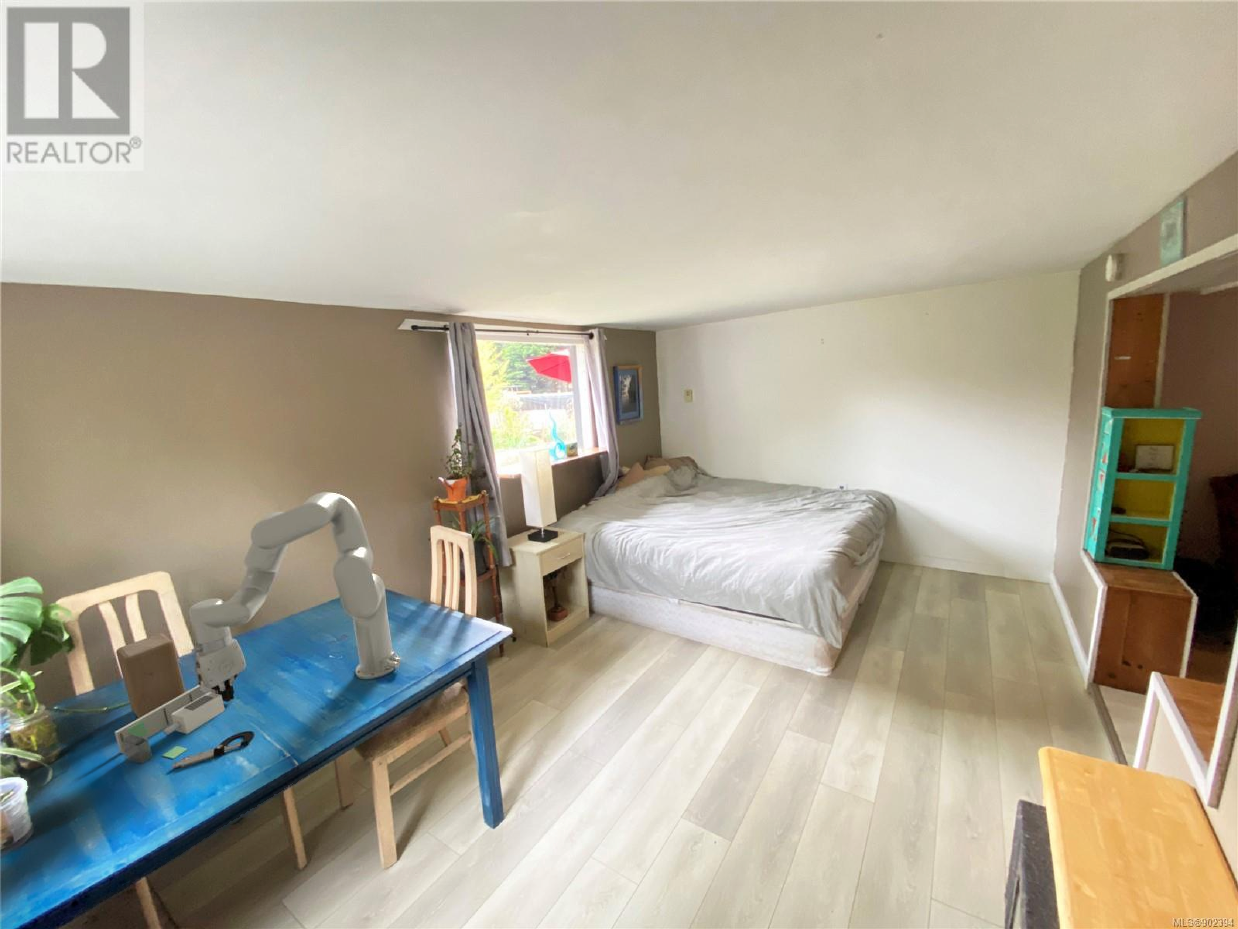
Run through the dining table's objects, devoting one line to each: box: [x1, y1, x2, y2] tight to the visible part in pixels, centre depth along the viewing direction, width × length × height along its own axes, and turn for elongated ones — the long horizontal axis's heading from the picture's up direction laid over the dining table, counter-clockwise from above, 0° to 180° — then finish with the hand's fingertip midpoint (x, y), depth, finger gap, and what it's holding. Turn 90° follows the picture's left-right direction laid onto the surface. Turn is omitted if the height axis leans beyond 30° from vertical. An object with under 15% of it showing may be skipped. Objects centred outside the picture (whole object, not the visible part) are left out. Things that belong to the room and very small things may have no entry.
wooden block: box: [115, 632, 186, 719], centre depth 130 cm, size 10×10×20 cm
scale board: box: [114, 684, 218, 754], centre depth 126 cm, size 1×26×6 cm, turn 164°
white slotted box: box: [162, 692, 226, 736], centre depth 124 cm, size 5×12×5 cm, turn 162°
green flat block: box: [162, 745, 188, 760], centre depth 114 cm, size 4×3×1 cm
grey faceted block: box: [122, 735, 153, 765], centre depth 112 cm, size 6×2×6 cm, turn 74°
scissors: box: [172, 730, 255, 770], centre depth 115 cm, size 15×7×2 cm, turn 118°
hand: (227, 699), depth 132 cm, fingers closed
